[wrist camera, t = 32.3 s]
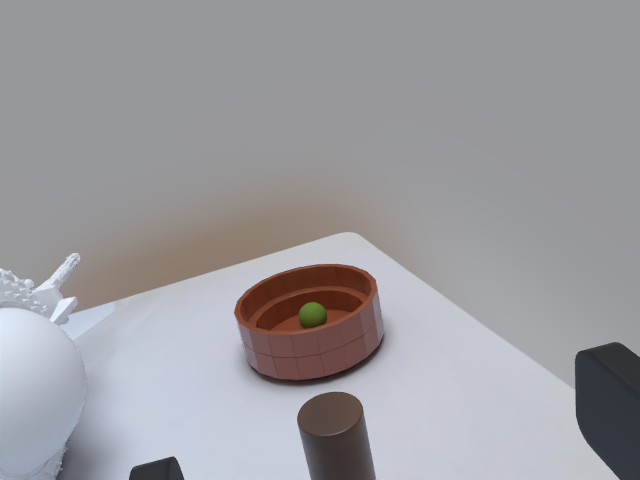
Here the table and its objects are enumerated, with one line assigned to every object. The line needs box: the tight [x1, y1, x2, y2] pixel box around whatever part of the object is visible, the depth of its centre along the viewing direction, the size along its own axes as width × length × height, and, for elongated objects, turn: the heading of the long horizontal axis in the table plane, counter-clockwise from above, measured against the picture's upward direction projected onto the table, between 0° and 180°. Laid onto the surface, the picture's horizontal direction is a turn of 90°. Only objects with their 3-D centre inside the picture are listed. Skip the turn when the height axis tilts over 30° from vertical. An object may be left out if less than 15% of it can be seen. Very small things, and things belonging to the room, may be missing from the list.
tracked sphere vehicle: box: [0, 253, 87, 480], centre depth 50 cm, size 35×14×20 cm, turn 6°
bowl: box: [234, 264, 384, 380], centre depth 59 cm, size 15×15×6 cm
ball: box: [298, 302, 327, 329], centre depth 61 cm, size 3×3×3 cm
